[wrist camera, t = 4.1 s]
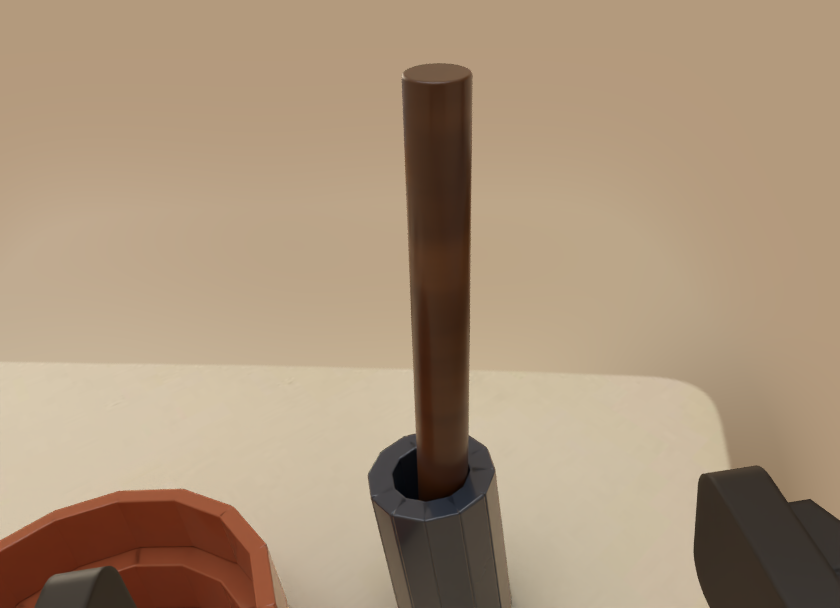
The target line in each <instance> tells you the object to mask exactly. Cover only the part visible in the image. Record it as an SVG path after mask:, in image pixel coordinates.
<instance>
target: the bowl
mask: <svg viewBox="0 0 840 608" xmlns="http://www.w3.org/2000/svg"><path fill="white" fill-rule="evenodd" d="M104 566H113V567H114V568H116V570H117V571H118V572H119V574H120V575H121V577H122V579H123V581H124V583H125V585H126V587H127V589H128V591H129V593H130V595H131V597H132V599H133V600H134V602H135V604H136V606H137V608H289V605H288V602H287V600H286V597H285V594H284V591H283V588H282V586H281V583H280V580H279V577H278V575H277V572H276V569H275V566H274V564H273V561H272V558H271V555H270V553H269V550H268V547H267V545H266V543H265V542H264V541H263V540H262V539H261V538H260V536H259V535H258V534H257V533H256V532H255V531H254V529H253V528H252V527H251V526H250V525H249V524H248V523H247V521H246V520H245V519H244V518H243V517H242V516H241V515H240V513H239V512H238V511H237V510H236V509H235V508H234V507H232V506H231V505H228V504H225V503H222V502H220V501H217V500H214V499H211V498H208V497H205V496H202V495H200V494H197V493H194V492H191V491H188V490H185V489H156V490H125V491H117V492H114V493H111V494H107V495H104V496H101V497H97V498H94V499H91V500H87V501H84V502H81V503H78V504H74V505H71V506H68V507H64V508H61V509H58V510H55V511H53V512H51V513H49V514H47V515H45V516H43V517H42V518H40V519H38V520H36V521H34V522H32V523H31V524H29V525H27V526H25V527H23V528H22V529H20V530H18V531H16V532H14V533H13V534H11V535H9V536H7V537H5V538H4V539H2V540H0V608H34V607H35V604H36V602H37V600H38V598H39V595H40V593H41V591H42V589H43V587H44V585H45V583H46V582H47V580H48V579H49V578H50V577H51V576H53V575H55V574H60V573H66V572H72V571H79V570H85V569H91V568H98V567H104Z"/></svg>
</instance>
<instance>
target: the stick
mask: <svg viewBox="0 0 840 608" xmlns="http://www.w3.org/2000/svg"><path fill="white" fill-rule="evenodd" d="M402 97H403V121H404V147H405V170H406V171H405V172H406V196H407V221H408V246H409V272H410V295H411V321H412V346H413V371H414V396H415V420H416V445H417V470H418V495H419V500H421V501H431V500H436V499H440V498H445V497H449V496H450V495H452V494H453V493H455V492H456V491H457V490H459V489H460V488H461V487H463V485H464V483H465V481H466V478H467V476H468V435H469V342H470V341H469V340H470V335H469V334H470V248H471V247H470V246H471V156H472V155H471V154H472V73H471V71H470V70H469V69H468V68H465V67H462V66H459V65H454V64H440V63H437V64H425V65H419V66H415V67H412V68H409V69H407V70H405V71H404V72H403V74H402Z"/></svg>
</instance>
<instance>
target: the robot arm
mask: <svg viewBox="0 0 840 608" xmlns="http://www.w3.org/2000/svg"><path fill="white" fill-rule="evenodd" d="M694 561H695V567H696V571H697V576H698V579H699V583H700V586H701V589H702V591H703V594H704V596H705V598H706V600H707V603H708V605H709V607H710V608H840V520H838V519H837V518H836V517H834V516H833V515H831V514H830V513H829V512H827V511H826V510H825V509H823V508H822V507H820V506H819V505H818V504H816V503H815V502H814V501H812V500H811V499H808V500H802V501H796V502H789V503H788V502H787V501H786V499H785V497H784V496H783V495H782V493H781V492H780V490H779V489H778V487H777V486H776V484H775V483H774V481H773V480H772V478H771V477H770V476H769V474H768V473H767V472H766V471H765V470H764V469H763V468H762V467H760V466H751V467H744V468H737V469H731V470H725V471H718V472H712V473H706V474H702V475H701V476H700V478H699V482H698V493H697V507H696V522H695V536H694ZM34 608H137V606H136V604H135V602H134V600H133V599H132V597H131V595H130V593H129V591H128V589H127V587H126V585H125V583H124V581H123V579H122V577H121V575H120V574H119V572H118V571H117V570H116V568H114V567H113V566H104V567H98V568H91V569H85V570H79V571H72V572H66V573H60V574H55V575H53V576H51V577H50V578H49V579H48V580H47V582H46V583H45V585H44V587H43V589H42V591H41V593H40V595H39V598H38V600H37V602H36V604H35V607H34Z"/></svg>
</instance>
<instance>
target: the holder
mask: <svg viewBox="0 0 840 608" xmlns="http://www.w3.org/2000/svg"><path fill="white" fill-rule="evenodd" d="M368 482H369V489H370V496H371V500H372V504H373V508H374V513H375V517H376V521H377V525H378V529H379V533H380V537H381V541H382V545H383V549H384V553H385V557H386V561H387V565H388V569H389V573H390V577H391V581H392V585H393V590H394V594H395V598H396V602H397V606H398V608H511V603H512V602H511V592H510V584H509V576H508V568H507V560H506V552H505V544H504V536H503V528H502V520H501V512H500V504H499V495H498V487H497V479H496V471H495V467H494V464H493V462H492V459H491V456H490V453H489V451H488V449H487V447H486V446H484V445H483V444H481V443H480V442H478V441H477V440H475V439H474V438H472V437H471V436H469V435H468V476H467V478H466V481H465V483H464V485H463V487H461V488H460V489H459V490H457V491H456V492H455V493H453V494H452V495H450V496H449V497H445V498H440V499H436V500H431V501H421V500H419V495H418V470H417V445H416V434H411V435H408V436H404V437H402V438H401V439H399V440H398V441H396V442H395V443H393V444H392V445H390V446H389V447H387V448H385V449H384V450H382V451H381V452H380V454H379V455H378V457H377V459H376V461H375V462H374V464H373V466H372V468H371V469H370V471H369V473H368Z"/></svg>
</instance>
